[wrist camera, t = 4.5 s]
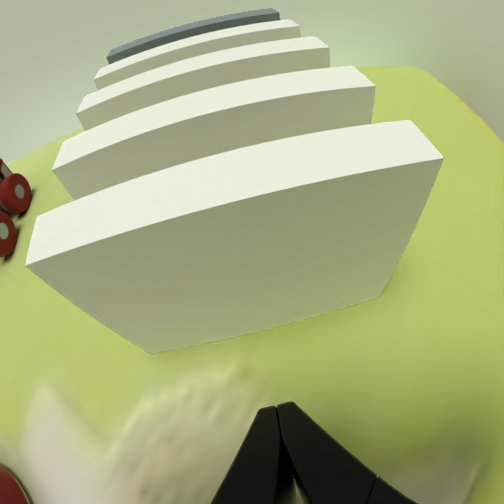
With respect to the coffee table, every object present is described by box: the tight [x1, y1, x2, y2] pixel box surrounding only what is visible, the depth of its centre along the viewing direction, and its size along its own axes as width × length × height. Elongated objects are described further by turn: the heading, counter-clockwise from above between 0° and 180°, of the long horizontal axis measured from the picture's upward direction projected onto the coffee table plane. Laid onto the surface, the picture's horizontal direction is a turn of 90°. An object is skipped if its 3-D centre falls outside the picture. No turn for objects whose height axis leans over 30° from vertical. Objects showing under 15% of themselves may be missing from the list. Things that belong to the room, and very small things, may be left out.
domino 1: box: [107, 8, 280, 64], centre depth 22 cm, size 2×13×10 cm, turn 102°
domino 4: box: [52, 66, 376, 200], centre depth 15 cm, size 2×13×10 cm, turn 102°
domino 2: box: [94, 19, 301, 90], centre depth 20 cm, size 2×13×10 cm, turn 102°
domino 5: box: [25, 120, 444, 354], centre depth 12 cm, size 2×13×10 cm, turn 102°
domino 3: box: [76, 37, 330, 131], centre depth 17 cm, size 2×13×10 cm, turn 102°
